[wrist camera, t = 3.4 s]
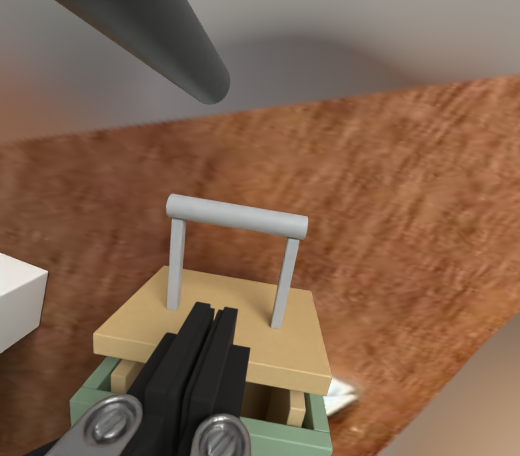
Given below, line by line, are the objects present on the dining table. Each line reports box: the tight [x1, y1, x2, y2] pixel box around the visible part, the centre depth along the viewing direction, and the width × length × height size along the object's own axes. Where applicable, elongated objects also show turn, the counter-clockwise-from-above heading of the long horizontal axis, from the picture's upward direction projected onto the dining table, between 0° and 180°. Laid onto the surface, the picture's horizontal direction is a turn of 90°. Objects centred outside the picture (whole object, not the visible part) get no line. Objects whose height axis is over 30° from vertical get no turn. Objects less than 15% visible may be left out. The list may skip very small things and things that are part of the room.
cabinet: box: [70, 356, 333, 456], centre depth 18 cm, size 15×13×10 cm
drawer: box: [93, 194, 332, 428], centre depth 16 cm, size 20×11×8 cm, turn 171°
